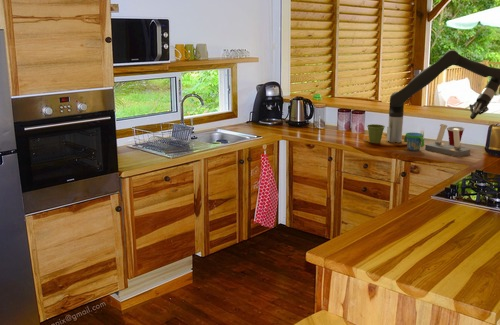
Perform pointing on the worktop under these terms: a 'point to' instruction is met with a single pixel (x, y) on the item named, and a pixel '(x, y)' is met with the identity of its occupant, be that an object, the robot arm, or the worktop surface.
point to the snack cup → (414, 141)
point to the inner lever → (441, 134)
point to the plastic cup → (451, 135)
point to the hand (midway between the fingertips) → (471, 118)
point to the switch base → (447, 149)
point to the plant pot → (375, 132)
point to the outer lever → (456, 138)
